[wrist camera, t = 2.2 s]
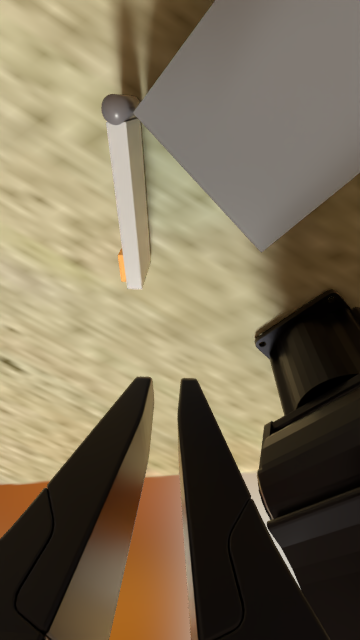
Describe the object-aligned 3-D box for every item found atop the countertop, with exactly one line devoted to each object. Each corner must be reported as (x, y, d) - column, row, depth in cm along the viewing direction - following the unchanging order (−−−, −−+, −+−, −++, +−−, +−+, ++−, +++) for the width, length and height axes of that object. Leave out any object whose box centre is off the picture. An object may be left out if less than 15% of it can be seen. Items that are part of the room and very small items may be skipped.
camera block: (250, 225, 18) (263, 257, 14) (128, 88, 15) (103, 85, 11) (431, 67, 14) (517, 55, 10) (316, -181, 10) (381, -342, 7)
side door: (130, 262, 20) (117, 290, 17) (110, 95, 15) (87, 94, 12) (152, 262, 20) (144, 291, 17) (140, 95, 15) (125, 93, 12)
